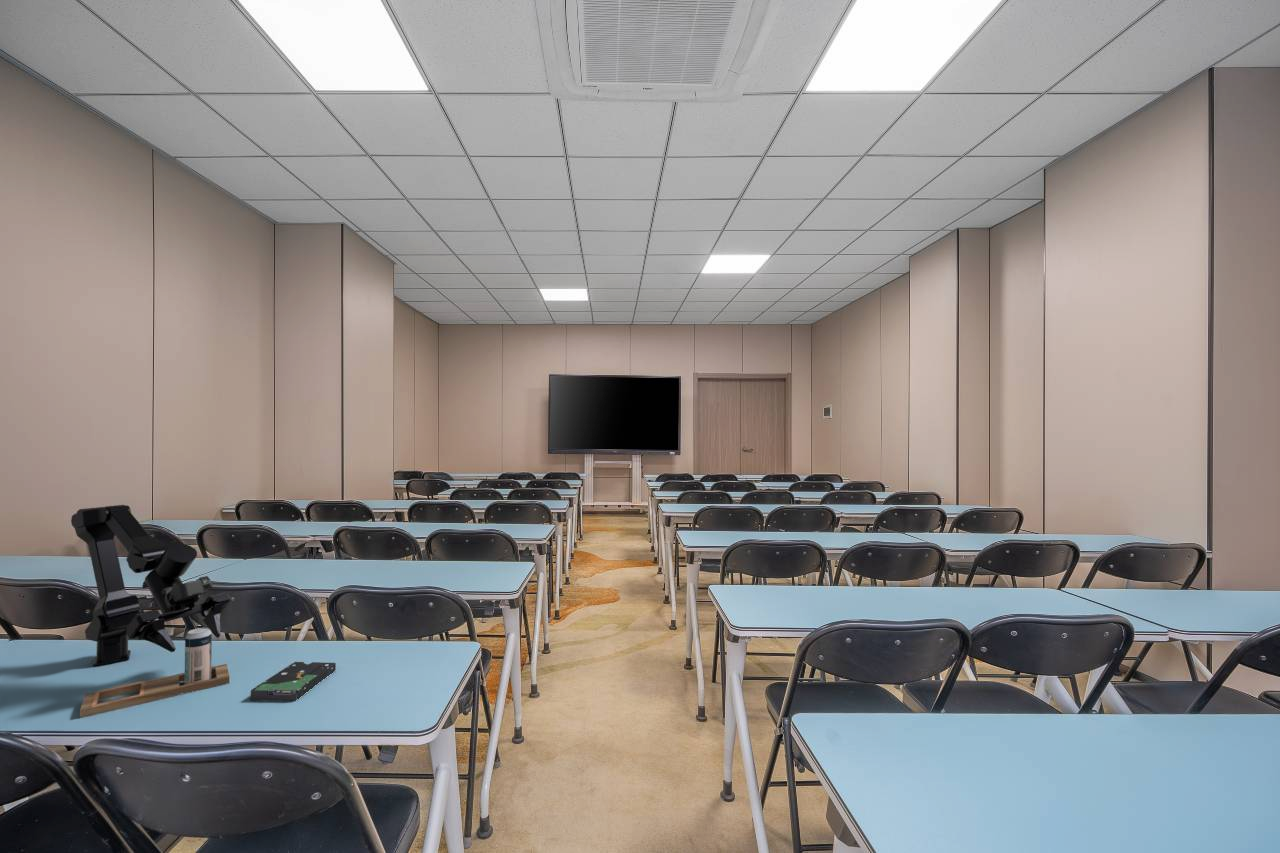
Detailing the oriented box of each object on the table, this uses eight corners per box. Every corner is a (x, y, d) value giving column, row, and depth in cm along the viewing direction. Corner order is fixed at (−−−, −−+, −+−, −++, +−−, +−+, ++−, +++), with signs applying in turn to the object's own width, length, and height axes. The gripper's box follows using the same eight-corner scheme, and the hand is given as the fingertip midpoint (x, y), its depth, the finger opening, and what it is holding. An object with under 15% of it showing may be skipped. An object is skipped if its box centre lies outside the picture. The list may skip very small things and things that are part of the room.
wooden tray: (85, 701, 116) (85, 693, 116) (226, 670, 132) (226, 663, 132) (79, 718, 109) (79, 710, 110) (229, 683, 125) (229, 676, 125)
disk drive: (293, 673, 132) (249, 702, 117) (294, 661, 132) (249, 689, 117) (336, 673, 132) (297, 703, 117) (336, 662, 132) (297, 690, 117)
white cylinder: (216, 679, 127) (217, 627, 127) (198, 688, 122) (198, 634, 122) (197, 678, 127) (198, 626, 128) (178, 687, 123) (179, 633, 123)
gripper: (134, 577, 119) (164, 635, 114) (226, 559, 136) (255, 609, 132) (113, 609, 121) (141, 667, 117) (206, 588, 139) (234, 637, 135)
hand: (197, 643), depth 125 cm, fingers open, 9 cm apart
